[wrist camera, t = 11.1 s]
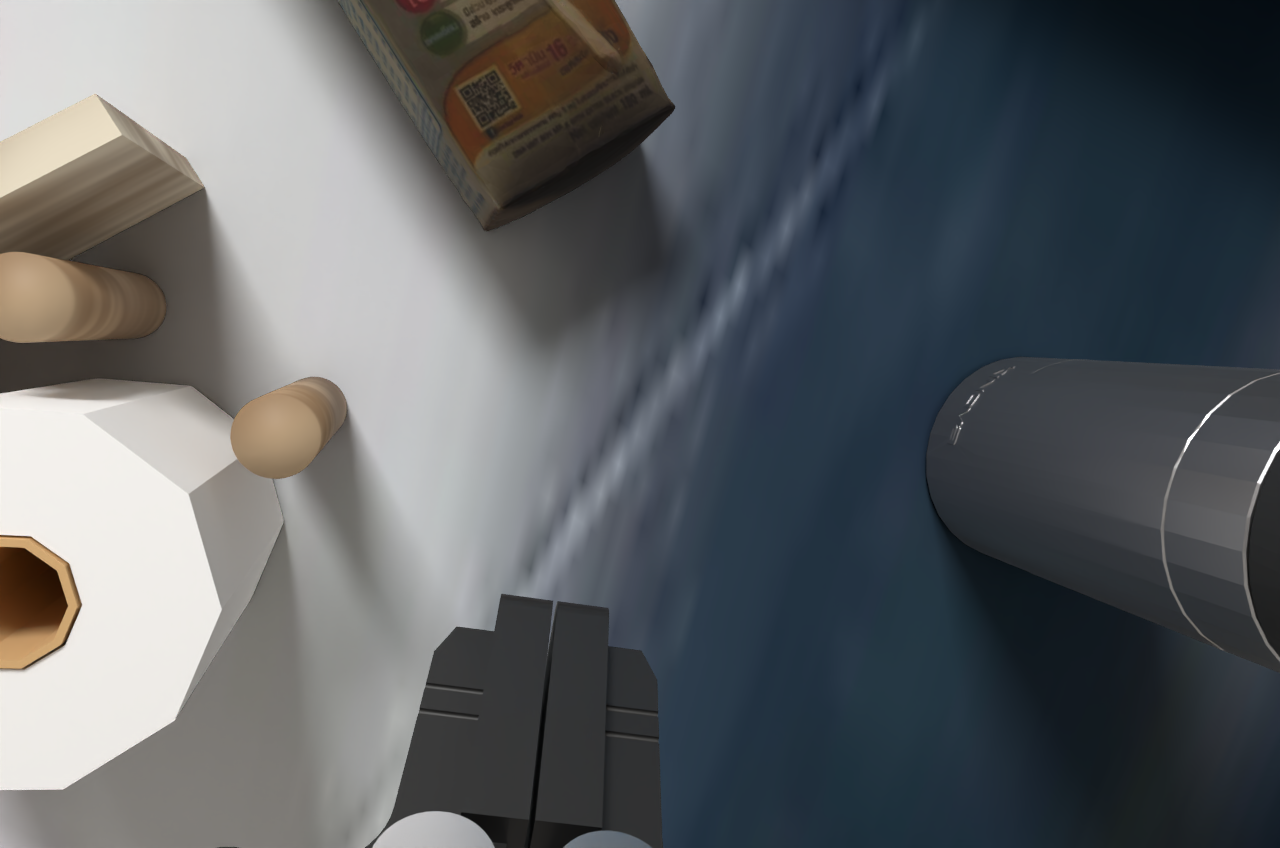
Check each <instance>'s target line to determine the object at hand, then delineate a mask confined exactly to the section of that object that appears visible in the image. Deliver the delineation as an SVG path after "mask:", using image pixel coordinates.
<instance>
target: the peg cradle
mask: <svg viewBox="0 0 1280 848" xmlns="http://www.w3.org/2000/svg"><path fill="white" fill-rule="evenodd" d="M203 188H205V187H204V185H203V184H202V182H201V181H200V179H199V178H198V176H197V174H196V173H195V171H194V170H193V168H192V167H191V165H190V164H189V162H188V160H187V159H186V158H185V157H184V156H182V155H181V154H180V153H178V152H177V151H175V150H174V149H173V148H171V147H170V146H168V145H167V144H166V143H164V142H163V141H161V140H160V139H159V138H157V137H156V136H154V135H153V134H151V133H150V132H149V131H147V130H146V129H144V128H143V127H142V126H140V125H139V124H137V123H136V122H135V121H133V120H132V119H130V118H129V117H128V116H126V115H125V114H123V113H122V112H120V111H119V110H118V109H116V108H115V107H113V106H112V105H111V104H109V103H108V102H106V101H105V100H104V99H102V98H101V97H99V96H98V95H97V94H94V95H92V96H90V97H88V98H86V99H84V100H82V101H80V102H78V103H76V104H74V105H72V106H70V107H68V108H66V109H64V110H62V111H60V112H58V113H56V114H54V115H52V116H50V117H48V118H46V119H44V120H42V121H40V122H38V123H36V124H35V125H33V126H31V127H29V128H27V129H25V130H23V131H21V132H19V133H17V134H15V135H13V136H11V137H9V138H7V139H5V140H3V141H1V142H0V338H1V339H4V340H7V341H11V342H17V343H31V342H56V341H82V340H107V339H133V338H141V337H145V336H147V335H149V334H151V333H153V332H154V331H155V330H157V329H158V328H159V326H160V325H161V324H162V322H163V320H164V318H165V315H166V300H165V296H164V294H163V292H162V290H161V289H160V287H159V286H158V285H157V284H156V283H155V282H154V281H153V280H151V279H150V278H148V277H146V276H144V275H141V274H137V273H132V272H127V271H122V270H116V269H111V268H105V267H100V266H95V265H89V264H84V263H79V262H73V261H68V260H69V259H71V258H73V257H75V256H77V255H79V254H81V253H82V252H84V251H86V250H88V249H90V248H92V247H94V246H96V245H98V244H99V243H101V242H103V241H105V240H107V239H109V238H111V237H113V236H114V235H116V234H118V233H120V232H122V231H124V230H126V229H128V228H130V227H131V226H133V225H135V224H137V223H139V222H141V221H143V220H145V219H146V218H148V217H150V216H152V215H154V214H156V213H158V212H160V211H162V210H163V209H165V208H167V207H169V206H171V205H173V204H175V203H177V202H178V201H180V200H182V199H184V198H186V197H188V196H190V195H192V194H194V193H195V192H197V191H199V190H201V189H203ZM346 413H347V403H346V399H345V397H344V395H343V393H342V391H341V390H340V389H339V388H338V386H336V385H335V384H334V383H332V382H331V381H329V380H327V379H324V378H320V377H308V378H304V379H301V380H298V381H296V382H294V383H291V384H289V385H287V386H284V387H282V388H280V389H277V390H275V391H272V392H270V393H268V394H265V395H263V396H261V397H258V398H256V399H254V400H252V401H250V402H249V403H247V404H246V405H245V406H244V407H243V408H242V409H241V410H240V411H239V412H238V414H237V415H236V417H235V419H234V421H233V424H232V427H231V433H230V439H231V445H232V449H233V452H234V454H235V456H236V457H237V459H238V460H239V462H240V463H241V464H242V465H243V466H244V467H245V468H246V469H248V470H249V471H250V472H252V473H254V474H256V475H258V476H261V477H265V478H271V479H280V478H286V477H290V476H293V475H295V474H297V473H299V472H301V471H302V470H303V469H305V468H306V467H307V466H308V465H309V464H310V463H311V462H312V460H313V459H314V458H315V457H316V456H317V454H318V453H319V452H320V451H321V450H322V448H323V447H324V446H325V445H326V444H327V442H328V441H329V440H330V439H331V438H332V436H333V435H334V434H335V433H336V432H337V431H338V429H339V428H340V427H341V426H342V424H343V422H344V420H345V417H346Z"/></svg>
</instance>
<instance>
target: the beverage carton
mask: <svg viewBox="0 0 1280 848" xmlns="http://www.w3.org/2000/svg"><path fill="white" fill-rule="evenodd" d="M338 2H339V4H340V5H341V7H342V9H343V10H344V12H345V14H346V15H347V17H348V19H349V21H350V22H351V24H352V26H353V27H354V29H355V30H356V32H357V33H358V35H359V37H360V38H361V40H362V42H363V43H364V45H365V46H366V48H367V50H368V51H369V53H370V54H371V56H372V58H373V59H374V61H375V62H376V64H377V66H378V67H379V69H380V70H381V72H382V74H383V75H384V77H385V78H386V80H387V82H388V83H389V85H390V87H391V88H392V90H393V91H394V93H395V95H396V96H397V98H398V99H399V101H400V102H401V104H402V106H403V107H404V109H405V110H406V112H407V113H408V115H409V116H410V118H411V120H412V121H413V123H414V124H415V126H416V127H417V129H418V131H419V132H420V134H421V135H422V137H423V139H424V140H425V142H426V143H427V145H428V146H429V148H430V149H431V151H432V153H433V154H434V156H435V157H436V159H437V160H438V162H439V163H440V165H441V166H442V168H443V169H444V171H445V172H446V174H447V175H448V177H449V178H450V180H451V181H452V183H453V184H454V185H455V187H456V188H457V190H458V191H459V193H460V195H461V197H462V198H463V200H464V201H465V203H466V204H467V205H468V206H469V207H470V209H471V210H472V212H473V213H474V215H475V216H476V217H477V219H478V220H479V222H480V223H481V225H482V227H483V229H484V230H485V231H490V230H493V229H495V228H498V227H500V226H503V225H505V224H508V223H510V222H512V221H514V220H517V219H519V218H521V217H523V216H525V215H527V214H529V213H531V212H533V211H535V210H537V209H539V208H540V207H542V206H544V205H546V204H548V203H550V202H552V201H554V200H555V199H557V198H559V197H561V196H563V195H565V194H567V193H568V192H570V191H572V190H574V189H576V188H577V187H579V186H581V185H582V184H584V183H585V182H587V181H589V180H590V179H592V178H594V177H595V176H597V175H598V174H600V173H602V172H603V171H605V170H606V169H608V168H609V167H611V166H613V165H614V164H615V163H617V162H618V161H619V160H621V159H622V158H623V157H625V156H626V155H627V154H629V153H630V152H631V151H633V150H634V149H635V148H636V147H637V146H638V145H640V144H641V143H642V142H643V141H644V140H645V139H646V138H647V137H648V136H649V135H650V134H651V133H652V132H653V131H654V130H656V129H657V128H658V127H659V126H660V125H661V124H662V122H663V121H664V120H665V119H666V118H667V117H668V116H670V115H671V113H672V112H673V111H674V109H675V105H674V104H673V103H672V102H671V101H670V99H669V98H668V96H667V95H666V93H665V91H664V89H663V87H662V85H661V83H660V81H659V79H658V77H657V75H656V72H655V70H654V68H653V66H652V64H651V62H650V61H649V59H648V58H647V56H646V54H645V53H644V51H643V50H642V48H641V46H640V45H639V43H638V41H637V39H636V37H635V36H634V34H633V32H632V30H631V28H630V27H629V25H628V23H627V21H626V19H625V17H624V16H623V14H622V12H621V10H620V9H619V7H618V5H617V4H616V2H615V0H338Z"/></svg>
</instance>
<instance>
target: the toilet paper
mask: <svg viewBox="0 0 1280 848" xmlns="http://www.w3.org/2000/svg"><path fill="white" fill-rule="evenodd" d="M233 421H234V419H233V418H232V417H231V416H229V415H228V414H227V413H226V412H224V411H223V410H222V409H220V408H219V407H218V406H217V405H215V404H214V403H213V402H211V401H210V400H209V399H208V398H206V397H205V396H204V395H203V394H201V393H200V392H199V391H197V390H196V389H195V388H194V387H192V386H188V385H176V384H163V383H151V382H139V381H126V380H114V379H101V378H94V379H88V380H82V381H76V382H69V383H63V384H57V385H51V386H45V387H38V388H32V389H26V390H20V391H14V392H7V393H1V394H0V790H63V789H65V788H66V787H68V786H70V785H71V784H73V783H74V782H76V781H78V780H79V779H81V778H82V777H84V776H86V775H87V774H89V773H91V772H92V771H94V770H95V769H97V768H99V767H100V766H102V765H104V764H105V763H107V762H108V761H110V760H112V759H113V758H115V757H117V756H118V755H120V754H121V753H123V752H125V751H126V750H128V749H129V748H131V747H133V746H134V745H136V744H138V743H139V742H141V741H142V740H144V739H146V738H147V737H149V736H151V735H152V734H154V733H155V732H157V731H159V730H160V729H162V728H163V727H165V726H167V725H168V724H170V723H172V722H173V721H175V719H176V718H177V716H178V714H179V713H180V711H181V710H182V708H183V707H184V705H185V703H186V702H187V700H188V699H189V697H190V695H191V694H192V692H193V691H194V689H195V687H196V686H197V684H198V683H199V681H200V679H201V678H202V676H203V675H204V673H205V671H206V670H207V668H208V667H209V665H210V663H211V662H212V660H213V659H214V657H215V656H216V654H217V652H218V651H219V649H220V648H221V646H222V644H223V643H224V641H225V640H226V638H227V636H228V635H229V633H230V632H231V630H232V628H233V627H234V625H235V624H236V622H237V620H238V619H239V617H240V616H241V614H242V613H243V611H244V609H245V608H246V606H247V605H248V603H249V601H250V600H251V598H252V596H253V593H254V591H255V589H256V586H257V584H258V582H259V579H260V577H261V575H262V572H263V570H264V568H265V565H266V563H267V561H268V558H269V556H270V553H271V551H272V549H273V546H274V544H275V542H276V539H277V537H278V535H279V532H280V530H281V528H282V525H283V523H284V520H283V516H282V512H281V509H280V505H279V501H278V498H277V494H276V490H275V487H274V483H273V479H271V478H265V477H261V476H258V475H256V474H254V473H252V472H250V471H249V470H248V469H246V468H245V467H244V466H243V465H242V464H241V463H240V462H239V460H238V459H237V457H236V456H235V454H234V452H233V449H232V445H231V439H230V433H231V427H232V424H233Z"/></svg>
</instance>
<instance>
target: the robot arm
mask: <svg viewBox="0 0 1280 848" xmlns="http://www.w3.org/2000/svg"><path fill="white" fill-rule="evenodd" d="M926 476H927V481H928V486H929V491H930V496H931V499H932V501H933V503H934V505H935V508H936V510H937V512H938V515H939V516H940V518H941V519H942V521H943V522H944V523H945V525H946V526H947V527H948V529H949V530H950V532H952V533H953V534H954V535H955V536H956V537H957V538H958V539H960V540H961V541H962V542H963V543H964V544H966V545H967V546H969V547H971V548H973V549H975V550H977V551H979V552H981V553H983V554H986V555H988V556H991V557H993V558H995V559H998V560H1000V561H1003V562H1005V563H1008V564H1010V565H1013V566H1015V567H1018V568H1020V569H1023V570H1025V571H1027V572H1030V573H1032V574H1034V575H1037V576H1039V577H1042V578H1044V579H1047V580H1049V581H1052V582H1054V583H1056V584H1059V585H1061V586H1064V587H1066V588H1069V589H1071V590H1074V591H1076V592H1079V593H1081V594H1084V595H1086V596H1089V597H1091V598H1094V599H1096V600H1099V601H1101V602H1104V603H1106V604H1109V605H1111V606H1114V607H1116V608H1119V609H1121V610H1124V611H1126V612H1129V613H1131V614H1134V615H1136V616H1139V617H1141V618H1144V619H1146V620H1149V621H1151V622H1154V623H1156V624H1159V625H1161V626H1163V627H1166V628H1168V629H1171V630H1173V631H1176V632H1178V633H1181V634H1183V635H1186V636H1188V637H1191V638H1193V639H1196V640H1198V641H1201V642H1203V643H1206V644H1208V645H1211V646H1213V647H1216V648H1218V649H1221V650H1223V651H1226V652H1228V653H1231V654H1234V655H1236V656H1239V657H1241V658H1244V659H1247V660H1249V661H1252V662H1254V663H1257V664H1259V665H1262V666H1264V667H1267V668H1269V669H1271V670H1274V671H1276V672H1279V673H1280V370H1277V369H1257V368H1237V367H1217V366H1196V365H1176V364H1156V363H1136V362H1116V361H1096V360H1076V359H1053V358H1033V357H1016V358H1009V359H1003V360H999V361H997V362H994V363H992V364H989V365H987V366H984V367H982V368H980V369H979V370H977V371H976V372H974V373H973V374H972V375H970V376H969V377H967V378H966V379H964V381H963V382H962V383H961V384H960V385H959V386H958V387H957V388H956V389H955V390H954V391H953V392H952V393H951V394H950V395H949V397H948V399H947V400H946V402H945V403H944V405H943V406H942V408H941V410H940V411H939V413H938V415H937V418H936V420H935V423H934V425H933V428H932V430H931V433H930V438H929V443H928V448H927V454H926ZM552 607H553V601H551V600H543V599H536V598H528V597H521V596H514V595H506V594H501V598H500V604H499V609H498V615H497V620H496V625H495V631H486V630H479V629H471V628H464V627H456V628H455V629H454V630H453V631H452V632H451V634H450V635H449V636H448V637H447V638H446V639H445V640H444V641H443V642H442V644H441V645H440V646H439V647H438V648H437V649H436V650H435V651H434V655H433V658H432V662H431V666H430V670H429V674H428V678H427V682H426V687H425V689H424V693H423V697H422V701H421V705H420V710H419V714H418V717H417V720H416V724H415V728H414V732H413V736H412V740H411V744H410V748H409V751H408V755H407V759H406V763H405V767H404V771H403V775H402V779H401V782H400V786H399V790H398V794H397V798H396V802H395V806H394V809H393V812H392V815H391V817H390V819H389V821H388V823H387V825H386V826H385V828H384V829H383V830H382V832H381V833H380V834H379V836H378V837H377V838H376V839H374V840H373V841H372V842H371V843H370V844H369V845H368V846H366V847H365V848H663V841H662V819H661V787H660V755H659V743H658V739H659V723H658V717H657V716H658V690H657V679H656V677H655V675H654V673H653V671H652V669H651V668H650V666H649V664H648V662H647V660H646V658H645V656H644V655H643V653H642V651H640V650H633V649H625V648H618V647H610V646H608V631H609V609H608V608H604V607H597V606H589V605H582V604H574V603H567V602H560V601H557V604H556V609H555V615H554V620H553V626H552V632H551V637H550V643H549V634H550V625H551V616H552ZM548 643H549V649H548ZM547 652H548V654H547ZM219 848H237V847H219Z"/></svg>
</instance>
